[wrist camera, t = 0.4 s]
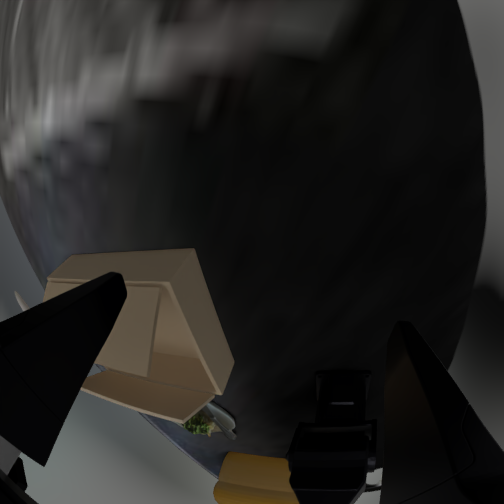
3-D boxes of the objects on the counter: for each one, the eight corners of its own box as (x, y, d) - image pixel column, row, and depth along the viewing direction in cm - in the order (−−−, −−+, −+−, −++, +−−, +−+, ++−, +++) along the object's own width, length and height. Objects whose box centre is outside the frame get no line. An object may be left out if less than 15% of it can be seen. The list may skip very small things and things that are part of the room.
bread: (334, 460, 48) (323, 522, 36) (334, 474, 54) (324, 526, 42) (226, 449, 56) (206, 504, 44) (240, 465, 62) (225, 512, 50)
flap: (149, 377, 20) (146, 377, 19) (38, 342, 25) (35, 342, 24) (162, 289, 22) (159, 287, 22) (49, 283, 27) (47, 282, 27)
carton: (234, 361, 34) (222, 395, 30) (123, 345, 39) (106, 369, 35) (194, 248, 26) (169, 281, 22) (72, 254, 32) (46, 277, 28)
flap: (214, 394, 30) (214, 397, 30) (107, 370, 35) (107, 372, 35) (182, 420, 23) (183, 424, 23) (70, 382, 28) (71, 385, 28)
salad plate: (268, 426, 44) (262, 449, 40) (207, 434, 53) (200, 452, 49) (176, 366, 39) (164, 391, 35) (131, 385, 48) (121, 404, 45)
